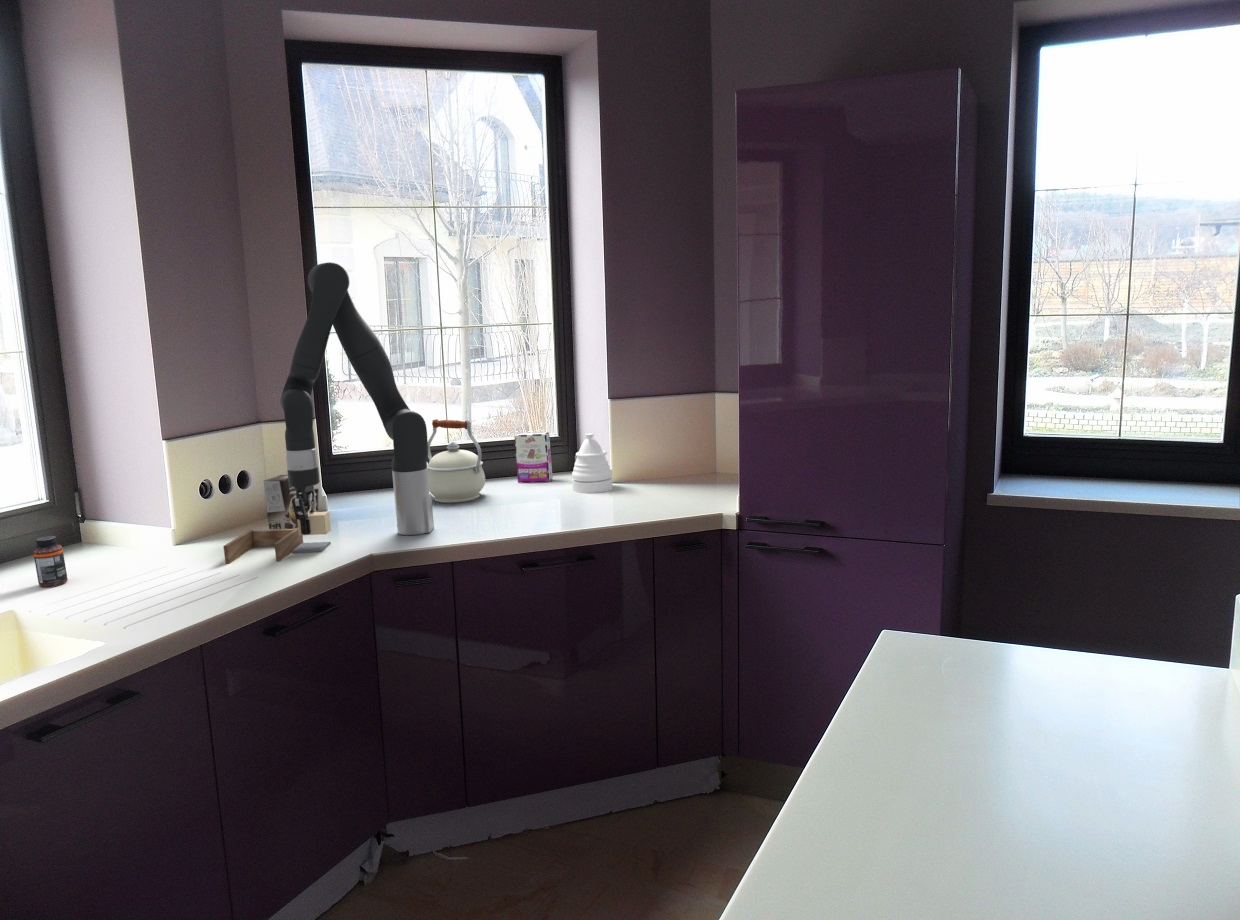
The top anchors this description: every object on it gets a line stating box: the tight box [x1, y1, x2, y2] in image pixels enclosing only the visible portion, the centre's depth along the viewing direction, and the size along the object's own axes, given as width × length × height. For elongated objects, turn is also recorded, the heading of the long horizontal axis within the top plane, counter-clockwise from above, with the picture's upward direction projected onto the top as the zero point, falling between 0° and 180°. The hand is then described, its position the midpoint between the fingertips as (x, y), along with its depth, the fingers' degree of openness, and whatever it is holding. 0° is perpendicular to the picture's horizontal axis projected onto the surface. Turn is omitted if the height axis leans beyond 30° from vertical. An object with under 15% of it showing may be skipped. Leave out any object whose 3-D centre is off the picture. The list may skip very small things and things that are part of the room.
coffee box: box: [263, 474, 298, 530], centre depth 257 cm, size 9×6×16 cm
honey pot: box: [571, 433, 614, 494], centre depth 297 cm, size 13×13×18 cm
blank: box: [297, 511, 332, 536], centre depth 240 cm, size 4×7×5 cm, turn 90°
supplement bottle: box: [33, 535, 68, 588], centre depth 219 cm, size 6×6×11 cm
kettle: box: [427, 418, 486, 504], centre depth 293 cm, size 25×18×25 cm
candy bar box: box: [514, 431, 553, 484], centre depth 314 cm, size 11×5×16 cm, turn 81°
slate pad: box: [291, 541, 332, 554], centre depth 241 cm, size 8×8×1 cm
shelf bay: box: [223, 528, 304, 565], centre depth 239 cm, size 14×17×4 cm
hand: (309, 531), depth 240 cm, fingers closed on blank, 4 cm apart
